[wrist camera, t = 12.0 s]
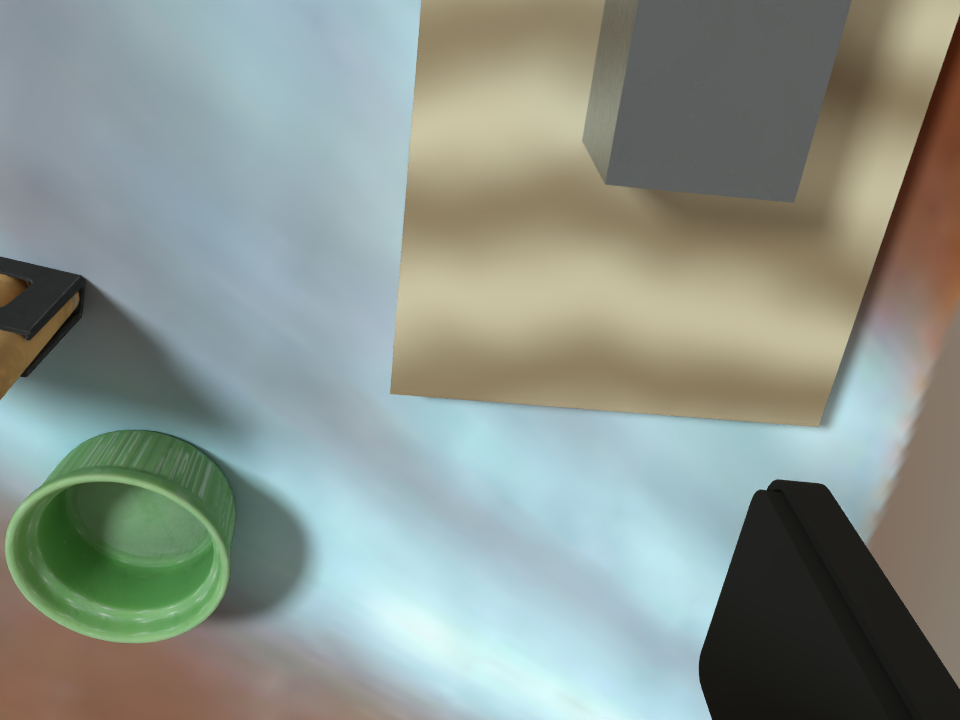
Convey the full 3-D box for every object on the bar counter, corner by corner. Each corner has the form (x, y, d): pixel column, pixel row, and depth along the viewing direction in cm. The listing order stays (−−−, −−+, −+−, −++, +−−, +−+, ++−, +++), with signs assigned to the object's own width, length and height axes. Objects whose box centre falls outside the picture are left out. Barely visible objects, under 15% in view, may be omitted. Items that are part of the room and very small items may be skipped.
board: (801, 402, 40) (878, 515, 33) (392, 369, 39) (382, 482, 32) (1065, -404, 27) (1283, -496, 20) (462, -505, 26) (472, -644, 19)
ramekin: (13, 429, 40) (-33, 491, 36) (219, 402, 39) (196, 462, 35) (82, 586, 44) (48, 656, 40) (268, 562, 44) (252, 630, 40)
